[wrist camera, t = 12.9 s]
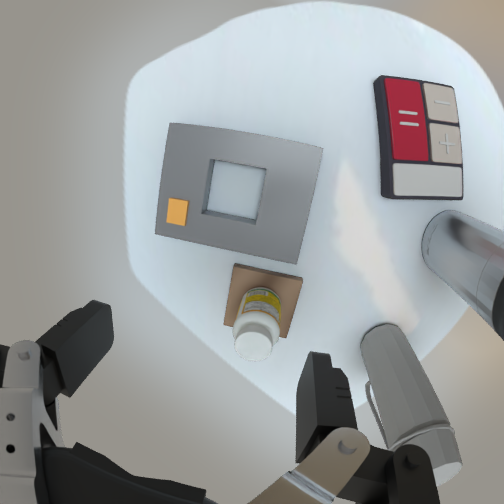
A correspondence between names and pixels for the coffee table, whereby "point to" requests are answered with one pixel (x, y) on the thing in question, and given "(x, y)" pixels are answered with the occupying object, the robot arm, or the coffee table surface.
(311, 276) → the coffee table surface
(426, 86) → the calculator
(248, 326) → the supplement bottle
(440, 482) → the water bottle
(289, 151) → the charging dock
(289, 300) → the coaster pad
